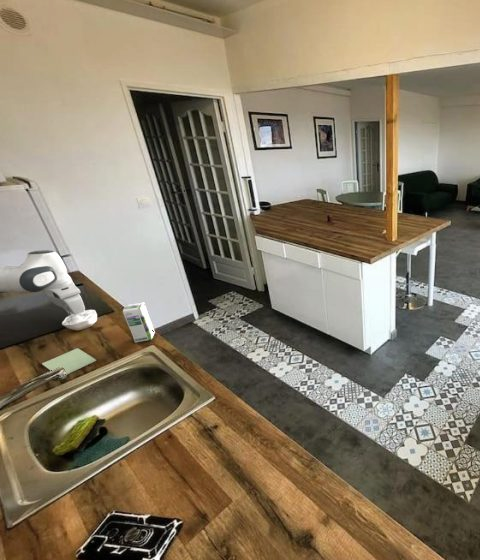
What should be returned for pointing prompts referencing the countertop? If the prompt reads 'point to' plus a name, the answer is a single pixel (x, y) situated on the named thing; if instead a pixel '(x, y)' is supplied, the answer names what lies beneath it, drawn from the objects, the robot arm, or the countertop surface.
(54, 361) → the dish cloth
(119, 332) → the countertop surface
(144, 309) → the syrup box
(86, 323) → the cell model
